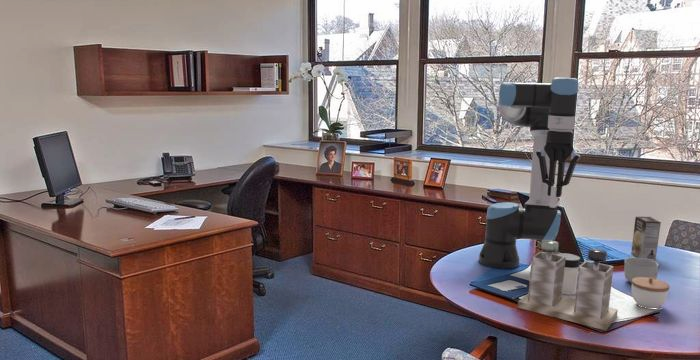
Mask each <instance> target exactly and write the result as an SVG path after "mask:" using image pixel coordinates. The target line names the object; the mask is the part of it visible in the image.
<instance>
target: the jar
mask: <svg viewBox="0 0 700 360" xmlns="http://www.w3.org/2000/svg"><path fill="white" fill-rule="evenodd" d="M555 255H560V256H565V257H566V258H565V269H564V279H563V289H562V295H570V296H576V286H577V276H578V267H579V266H580V265H581V257H580V256H578V255H576V254H572V253H567V252H566V253H565V252H564V253H563V252H561V253H556V254H555Z"/></svg>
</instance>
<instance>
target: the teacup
mask: <svg viewBox="0 0 700 360" xmlns="http://www.w3.org/2000/svg"><path fill="white" fill-rule="evenodd" d="M659 266H660V265H659V263H658V262H657V260H655V261H654V260H650V259H646V258H637V257H636V256H634V255H633V256H629V257H627V258H626V259H624V270H623V271H624V278H625V279H626V280H627V281H628V282H630V283H631V284H632V279H633V278H636V277H648V278H649V277H652V278H654V279H658V272H659V271H658V270H659Z"/></svg>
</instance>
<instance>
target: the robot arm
mask: <svg viewBox="0 0 700 360" xmlns="http://www.w3.org/2000/svg"><path fill="white" fill-rule="evenodd" d="M498 93H499V94H498V104H499V106H498V112H499V115H500V117H501V118H502V120H504V121H505V122H507V123H508V124H511V125H514V126H516V127H523V128H530V129H529V133H530V134H531V135H532V136H533V141H532V142H533V143H532V159H531V172H530V173H531V174H530V184H529V185H530V186H529V188H530V189H529V199H528V200H527V201H526V202H525V203H524V207H520V205H519V204H518V203H517V202H510V201H509V202H504V201H503V202H497V203H493V204H490V205H489V206H488V207H487V210H486V211H487V212H486V215H485V219H486V224H485V235H484V243H483V245H482V248H481V250H480V252H479V255H478V262H479V263H480V264H482V265H484V266H486V267H489V268H495V269H502V270H503V269H505V270H507V269H514V268H515V269H516V268H517V267H519V265H520V256H519V253H518V249H517V239H523V240H524V239H525V240H535V241H541V242H542V241H543V240H552V241H555V240H556V238H557V236H558V233H559V229H560V225H561V221H562V219H561V218H562V217H561V216H562V212H561V210H559V209H558V200H559V198H560V197H562V194H563V193H562V192H563V187H564V186H568V185H570V181H571V179H572V177H573V173H574V171H575V168H576V165H577V163H578V161H579V160H580V159H581V156H582V155H581V154H578V153H576V152H575V149H574V147H573V143H574V135H575V134H574V132H573V130H575V123H576V112H577V111H576V109H577V102H578V101H577V100H578V93H579V80H578V78H576V77H572V78H571V77H554V78H552V80H551V83H546V82H545V83H541V82H539V83H538V82H536V83H535V82H532V83H531V82H530V83H529V82H513V81H508V82H501V83H500V85H499V91H498ZM570 156H571V157H570ZM569 158H570V163H569V164H568V167H567V170H566V173H565V166H566V161H567V160H568V159H569ZM557 165H558V167H557ZM556 168H557V175H556ZM564 175H565V176H564ZM556 177H557V178H556ZM555 179H556V181H555ZM555 182H556V183H555Z"/></svg>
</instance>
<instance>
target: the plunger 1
mask: <svg viewBox="0 0 700 360" xmlns="http://www.w3.org/2000/svg"><path fill="white" fill-rule="evenodd" d="M559 244H560V243H559V241H555V240H543V241H541V244H540V250H541V251H542V252H543V251H544V252H545V253H546V260H549V261H551V257H552V254H553V253H557V252H559V246H560V245H559Z"/></svg>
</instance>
